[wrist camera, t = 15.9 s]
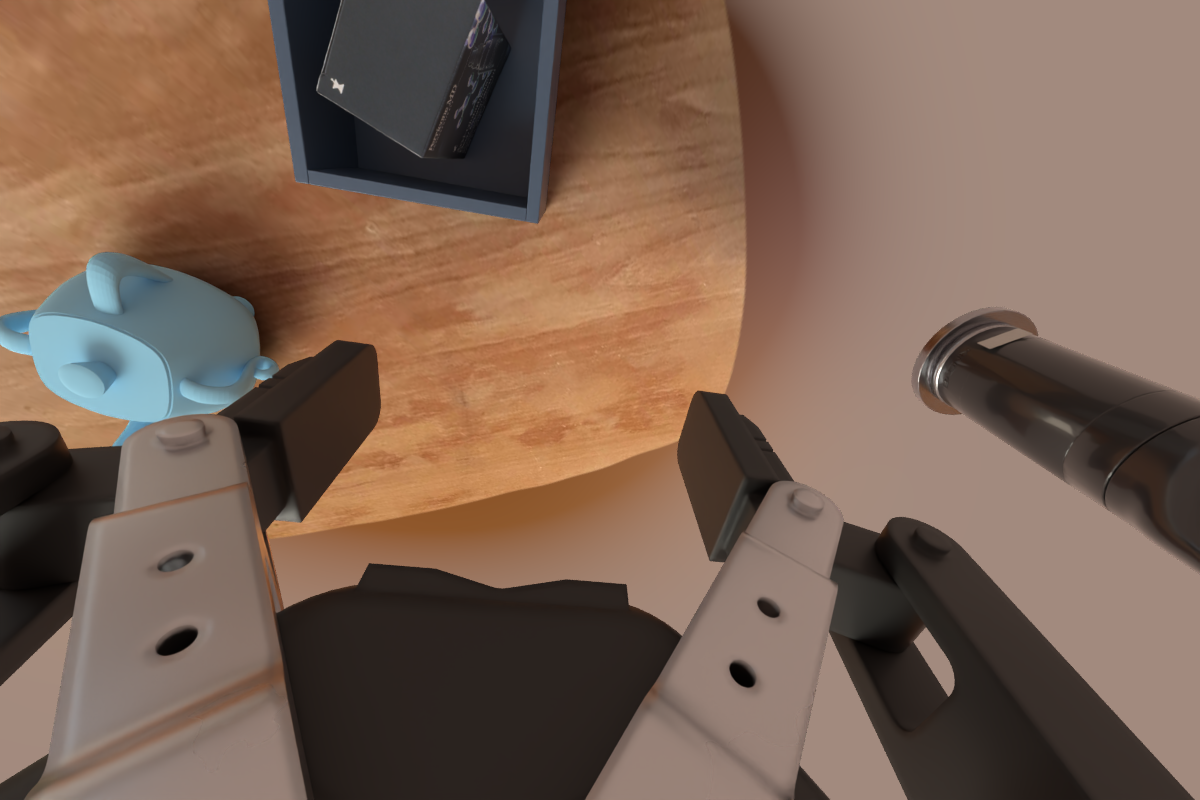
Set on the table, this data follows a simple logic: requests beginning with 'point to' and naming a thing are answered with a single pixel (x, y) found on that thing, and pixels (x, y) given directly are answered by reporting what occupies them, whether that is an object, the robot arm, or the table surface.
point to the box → (416, 69)
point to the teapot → (141, 342)
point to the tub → (387, 169)
